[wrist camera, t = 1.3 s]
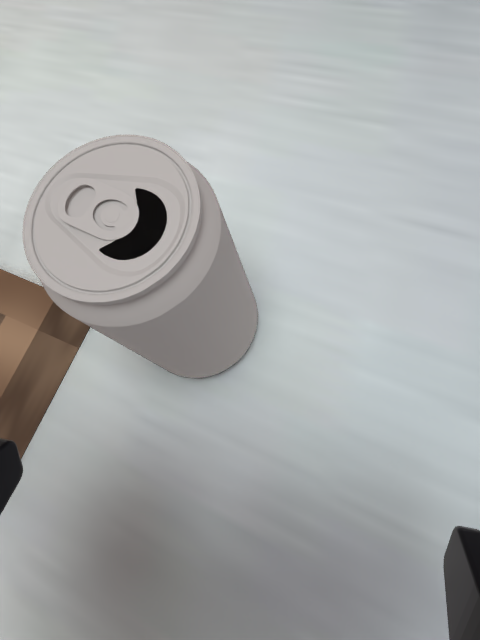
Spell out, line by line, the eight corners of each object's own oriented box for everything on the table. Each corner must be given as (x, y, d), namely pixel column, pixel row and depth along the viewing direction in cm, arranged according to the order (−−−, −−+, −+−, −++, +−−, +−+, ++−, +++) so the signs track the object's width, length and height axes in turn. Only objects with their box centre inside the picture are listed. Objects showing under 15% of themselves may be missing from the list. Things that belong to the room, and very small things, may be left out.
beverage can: (226, 400, 23) (144, 351, 12) (125, 349, 25) (-31, 263, 14) (279, 294, 24) (251, 157, 13) (179, 253, 26) (78, 98, 15)
